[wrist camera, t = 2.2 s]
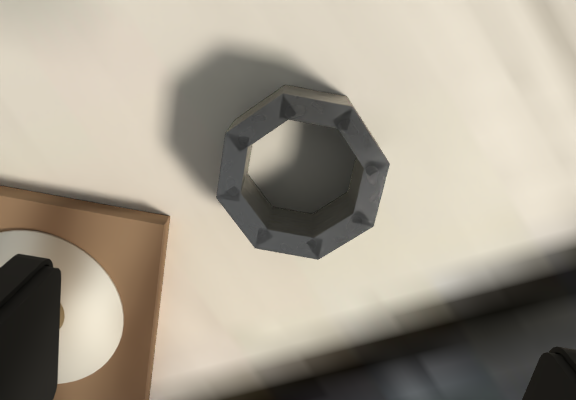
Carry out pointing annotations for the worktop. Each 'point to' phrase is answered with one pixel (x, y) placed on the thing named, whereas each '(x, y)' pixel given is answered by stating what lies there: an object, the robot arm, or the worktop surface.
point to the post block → (95, 287)
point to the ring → (293, 224)
